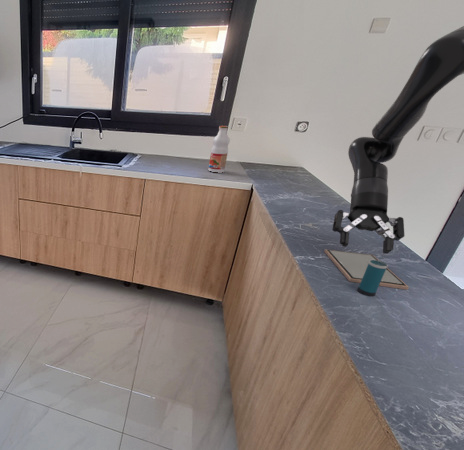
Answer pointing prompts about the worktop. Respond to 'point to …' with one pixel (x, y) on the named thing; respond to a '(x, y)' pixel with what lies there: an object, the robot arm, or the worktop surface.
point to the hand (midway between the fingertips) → (365, 249)
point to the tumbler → (372, 277)
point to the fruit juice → (219, 151)
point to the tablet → (361, 268)
